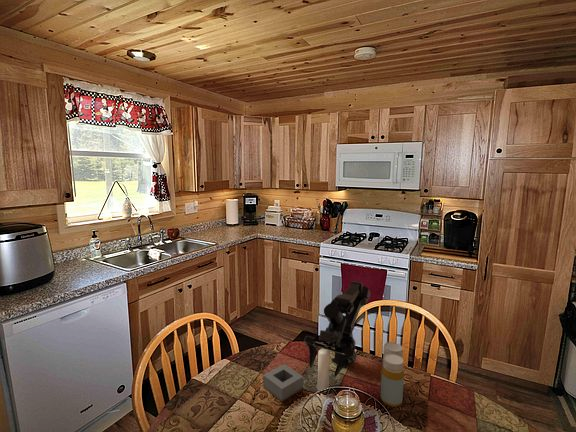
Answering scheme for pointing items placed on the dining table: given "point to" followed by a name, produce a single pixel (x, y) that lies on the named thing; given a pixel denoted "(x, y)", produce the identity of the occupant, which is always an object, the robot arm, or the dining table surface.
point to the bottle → (392, 380)
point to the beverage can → (392, 350)
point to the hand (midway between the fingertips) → (322, 372)
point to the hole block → (283, 382)
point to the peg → (323, 369)
